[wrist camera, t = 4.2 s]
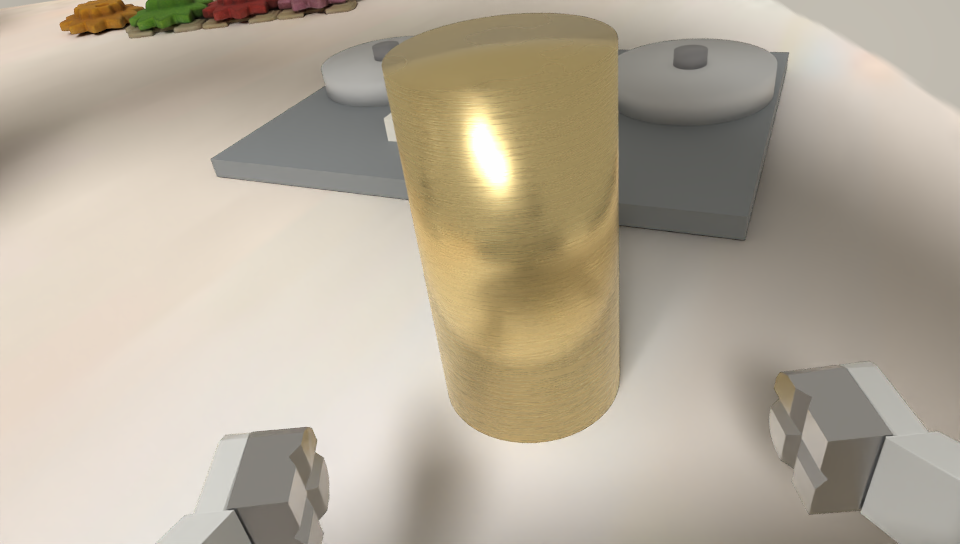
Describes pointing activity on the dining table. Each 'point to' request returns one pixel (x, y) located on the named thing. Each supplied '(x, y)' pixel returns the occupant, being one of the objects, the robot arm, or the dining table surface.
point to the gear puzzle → (190, 14)
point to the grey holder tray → (641, 133)
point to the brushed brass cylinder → (516, 213)
